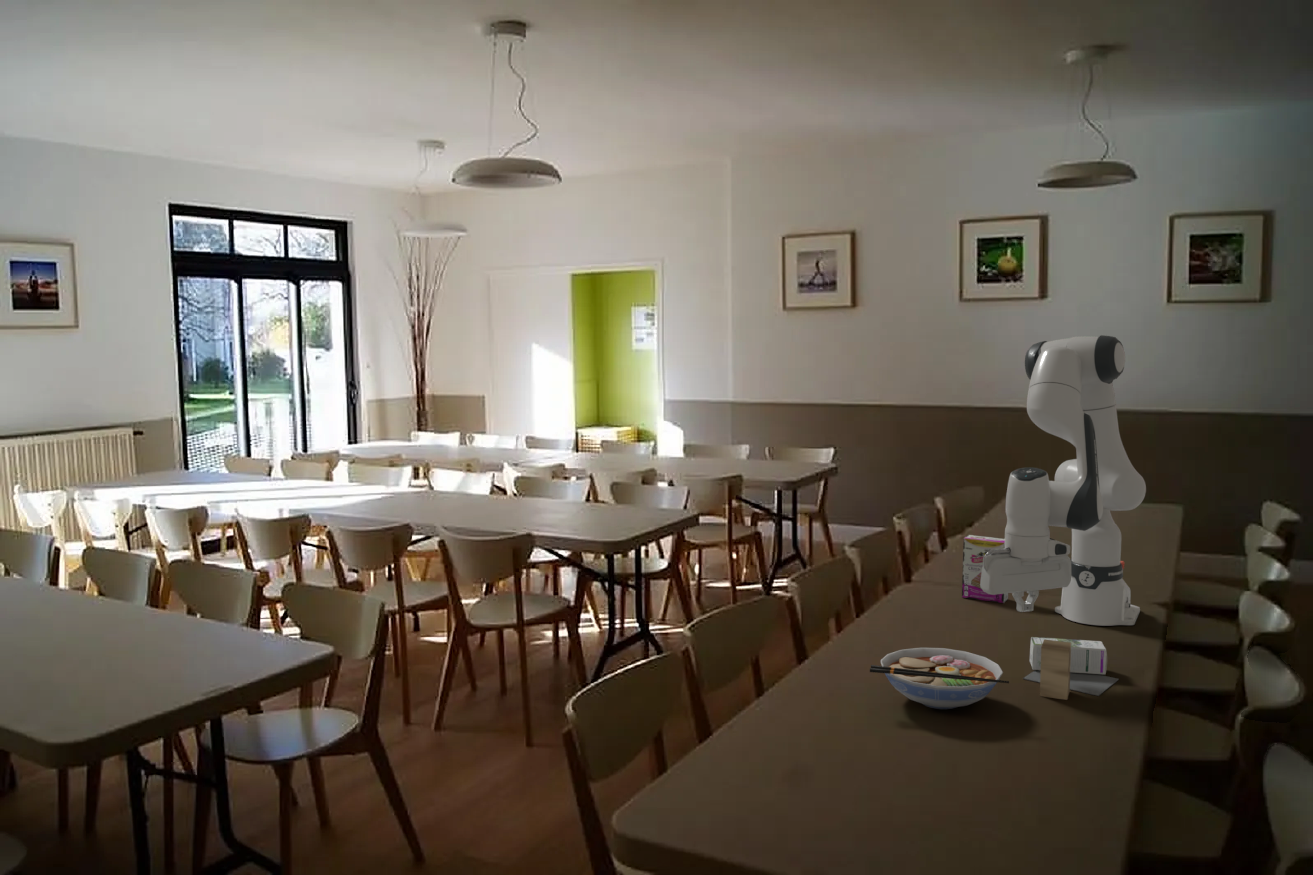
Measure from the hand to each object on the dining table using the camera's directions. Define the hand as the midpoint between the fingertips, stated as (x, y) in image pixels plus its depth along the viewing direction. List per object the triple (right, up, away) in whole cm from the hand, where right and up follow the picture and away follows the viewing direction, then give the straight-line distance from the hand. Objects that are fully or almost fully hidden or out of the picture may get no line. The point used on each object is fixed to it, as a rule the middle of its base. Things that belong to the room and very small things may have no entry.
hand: (1024, 610), depth 214 cm
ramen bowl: (-23, -15, -17) cm, 32 cm away
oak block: (+1, -14, -13) cm, 19 cm away
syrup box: (+2, -9, +2) cm, 10 cm away
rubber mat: (+8, -13, -5) cm, 16 cm away
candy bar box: (+10, -7, +56) cm, 57 cm away
